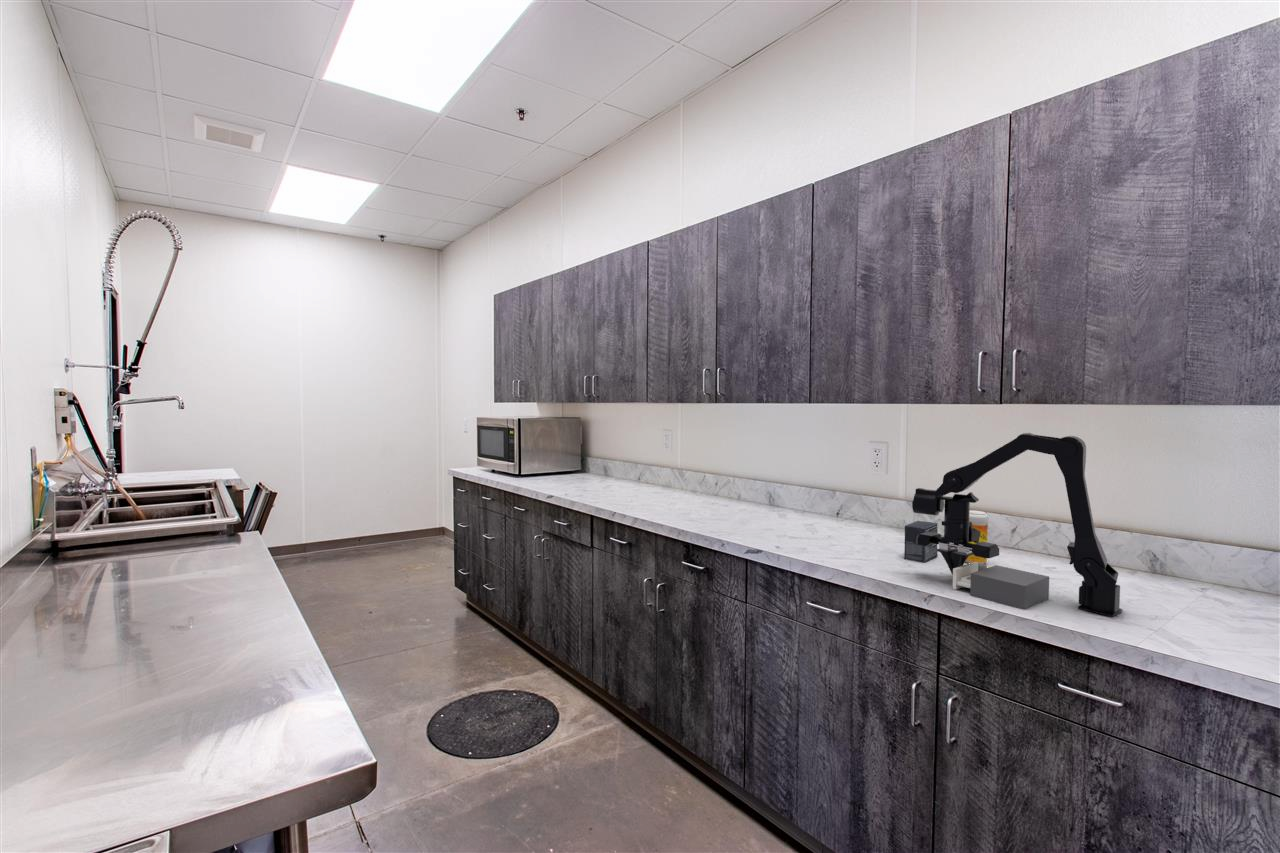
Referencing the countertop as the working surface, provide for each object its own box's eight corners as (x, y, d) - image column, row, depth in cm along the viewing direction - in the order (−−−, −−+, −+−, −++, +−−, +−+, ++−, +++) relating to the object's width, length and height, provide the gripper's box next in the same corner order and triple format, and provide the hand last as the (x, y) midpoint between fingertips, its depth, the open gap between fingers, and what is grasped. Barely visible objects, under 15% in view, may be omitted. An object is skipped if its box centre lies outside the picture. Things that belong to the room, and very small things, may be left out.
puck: (989, 578, 157) (989, 565, 157) (982, 580, 155) (982, 567, 154) (973, 574, 160) (974, 562, 160) (966, 577, 158) (966, 564, 158)
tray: (1023, 593, 144) (1023, 572, 144) (1002, 601, 138) (1002, 580, 138) (973, 581, 154) (974, 561, 154) (951, 588, 148) (952, 568, 148)
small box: (916, 552, 184) (916, 519, 183) (938, 556, 179) (938, 522, 179) (902, 559, 176) (903, 524, 176) (925, 563, 172) (926, 528, 171)
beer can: (989, 565, 169) (991, 514, 168) (966, 564, 170) (968, 513, 170) (982, 560, 175) (983, 510, 174) (959, 559, 176) (961, 509, 176)
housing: (1048, 598, 141) (1049, 576, 140) (1024, 609, 133) (1025, 586, 133) (995, 585, 151) (995, 565, 150) (970, 595, 143) (970, 573, 143)
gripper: (1010, 520, 149) (1008, 580, 149) (937, 509, 164) (936, 564, 165) (989, 525, 142) (987, 588, 143) (915, 513, 158) (914, 570, 158)
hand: (955, 577), depth 152 cm, fingers closed
